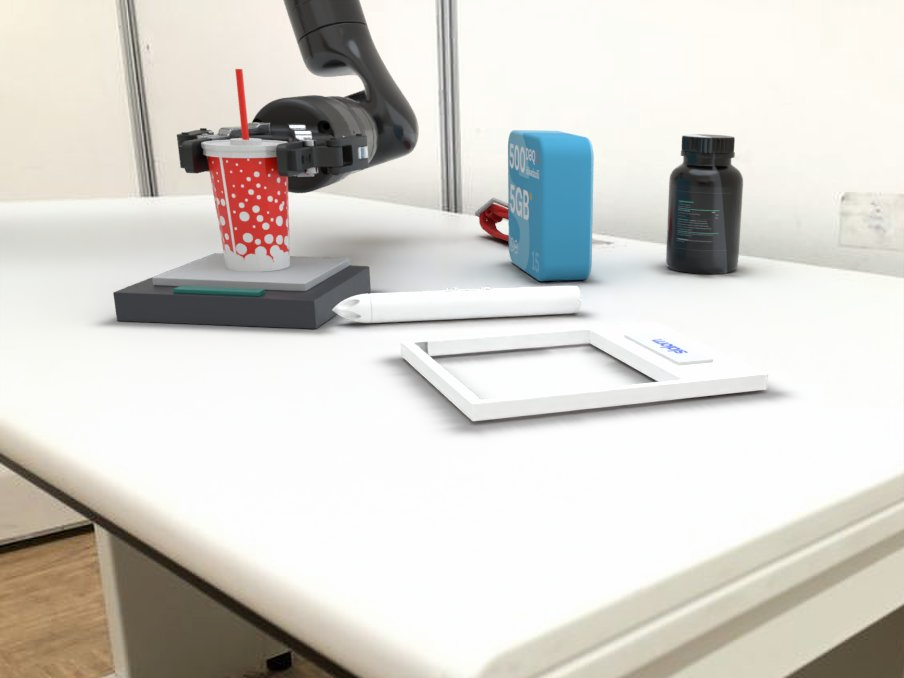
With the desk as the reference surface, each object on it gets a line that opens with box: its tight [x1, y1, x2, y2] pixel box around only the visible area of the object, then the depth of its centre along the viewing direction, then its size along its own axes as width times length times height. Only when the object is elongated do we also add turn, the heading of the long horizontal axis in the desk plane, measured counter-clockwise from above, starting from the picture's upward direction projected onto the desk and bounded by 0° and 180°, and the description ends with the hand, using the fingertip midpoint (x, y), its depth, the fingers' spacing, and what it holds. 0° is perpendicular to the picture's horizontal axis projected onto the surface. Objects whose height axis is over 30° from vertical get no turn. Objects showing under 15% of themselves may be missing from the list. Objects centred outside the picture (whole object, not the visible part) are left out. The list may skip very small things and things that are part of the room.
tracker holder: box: [474, 197, 509, 243], centre depth 116 cm, size 12×4×10 cm
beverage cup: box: [201, 68, 291, 272], centre depth 81 cm, size 6×6×14 cm
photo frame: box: [399, 321, 769, 422], centre depth 67 cm, size 15×1×18 cm
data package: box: [507, 129, 595, 282], centre depth 98 cm, size 12×4×12 cm, turn 20°
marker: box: [332, 285, 582, 324], centre depth 80 cm, size 18×2×2 cm, turn 111°
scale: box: [112, 252, 372, 330], centre depth 83 cm, size 14×14×3 cm
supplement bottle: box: [665, 133, 744, 275], centre depth 102 cm, size 7×7×12 cm
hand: (235, 159), depth 78 cm, fingers closed on beverage cup, 6 cm apart
